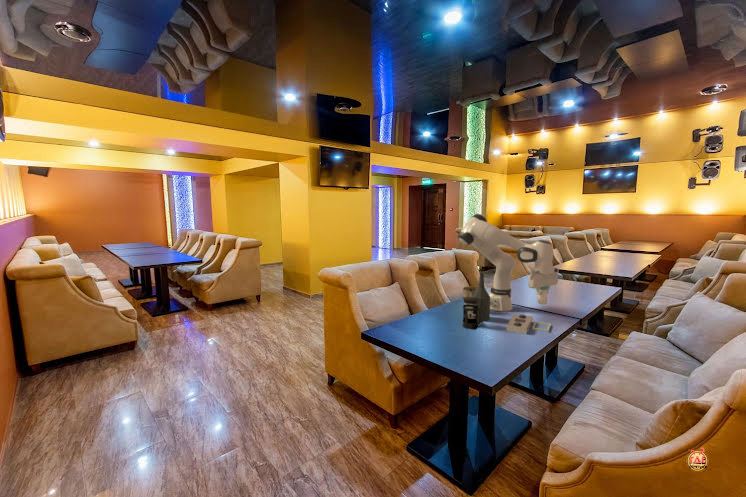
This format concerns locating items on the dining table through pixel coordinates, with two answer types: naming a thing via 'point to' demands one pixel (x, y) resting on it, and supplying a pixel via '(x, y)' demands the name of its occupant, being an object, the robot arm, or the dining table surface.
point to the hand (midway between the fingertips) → (542, 294)
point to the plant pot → (469, 293)
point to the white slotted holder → (523, 327)
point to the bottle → (482, 300)
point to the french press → (470, 319)
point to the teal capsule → (543, 295)
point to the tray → (541, 324)
